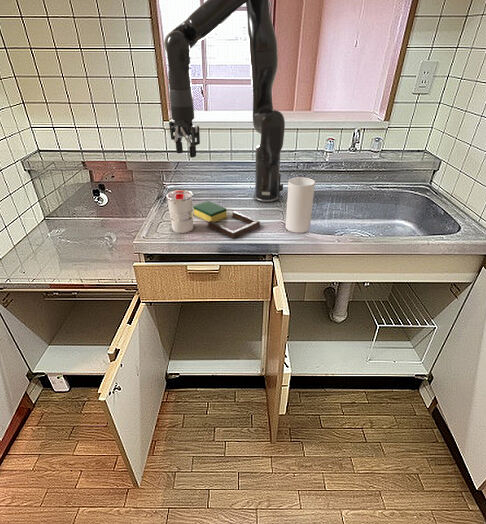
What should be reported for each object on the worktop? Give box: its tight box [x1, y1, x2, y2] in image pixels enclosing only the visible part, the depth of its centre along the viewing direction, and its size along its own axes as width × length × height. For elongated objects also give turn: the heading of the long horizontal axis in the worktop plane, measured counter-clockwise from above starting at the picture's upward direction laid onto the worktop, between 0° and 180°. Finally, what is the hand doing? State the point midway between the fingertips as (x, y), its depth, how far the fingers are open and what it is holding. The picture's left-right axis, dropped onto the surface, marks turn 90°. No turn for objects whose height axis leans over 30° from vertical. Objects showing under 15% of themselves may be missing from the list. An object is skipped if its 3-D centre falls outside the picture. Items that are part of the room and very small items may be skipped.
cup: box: [284, 176, 316, 234], centre depth 115 cm, size 8×8×16 cm
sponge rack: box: [207, 210, 261, 240], centre depth 120 cm, size 12×12×2 cm
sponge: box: [192, 200, 228, 223], centre depth 127 cm, size 7×10×3 cm
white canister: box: [165, 189, 194, 234], centre depth 116 cm, size 10×8×12 cm
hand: (186, 154), depth 124 cm, fingers open, 7 cm apart
